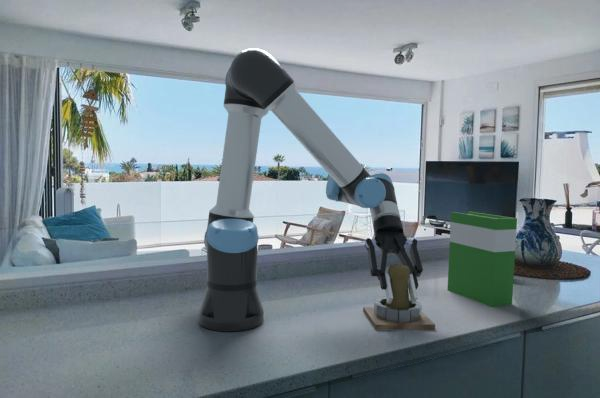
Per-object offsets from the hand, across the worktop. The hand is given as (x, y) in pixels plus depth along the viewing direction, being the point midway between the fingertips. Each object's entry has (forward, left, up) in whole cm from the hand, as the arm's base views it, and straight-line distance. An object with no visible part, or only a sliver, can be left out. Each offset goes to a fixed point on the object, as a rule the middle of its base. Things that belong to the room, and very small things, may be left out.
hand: (402, 300), depth 108 cm
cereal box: (+30, +24, -6) cm, 39 cm away
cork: (0, +4, -3) cm, 5 cm away
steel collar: (0, +4, -5) cm, 6 cm away
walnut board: (0, +4, -6) cm, 7 cm away
